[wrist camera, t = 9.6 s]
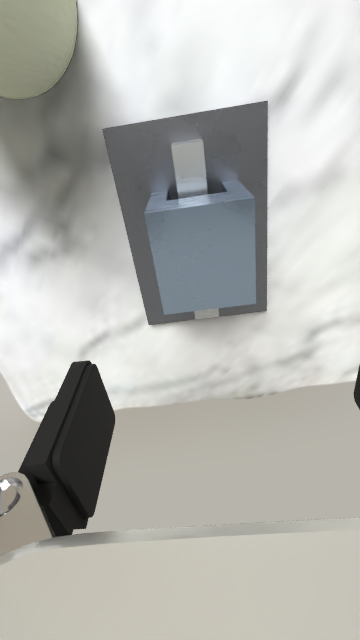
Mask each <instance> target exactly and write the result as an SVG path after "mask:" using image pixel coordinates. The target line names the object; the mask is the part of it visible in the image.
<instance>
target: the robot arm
mask: <svg viewBox="0 0 360 640" xmlns="http://www.w3.org/2000/svg"><path fill="white" fill-rule="evenodd" d="M354 399H355V402H356V404H357V406H358V407H359V409H360V366H359V371H358V375H357V380H356V385H355V389H354ZM114 425H115V414H114V411H113V408H112V406H111V403H110V400H109V398H108V395H107V392H106V390H105V387H104V384H103V382H102V379H101V376H100V374H99V371H98V368H97V366H96V365H95V364H92V363H91V362H90V361H79V362H73V363H72V364H71V366H70V368H69V371H68V373H67V375H66V377H65V379H64V382H63V384H62V386H61V388H60V390H59V392H58V395H57V397H56V399H55V401H53V402H52V403H51V404H50V406H49V407H48V409H47V412H46V414H45V416H44V418H43V420H42V422H41V424H40V427H39V429H38V431H37V433H36V435H35V438H34V439H33V442H32V444H31V446H30V448H29V450H28V452H27V454H26V457H25V458H24V461H23V463H22V465H21V467H20V469H19V471H18V473H17V472H13V473H8V474H5V475H3V476H0V640H360V517H358V518H336V519H316V520H296V521H278V522H260V523H241V524H223V525H204V526H187V527H170V528H154V529H137V530H123V531H110V532H97V533H84V534H75V535H72V532H73V529H86V526H87V522H88V518H89V517H92V516H93V515H94V512H95V508H96V504H97V499H98V495H99V491H100V486H101V482H102V477H103V473H104V468H105V464H106V460H107V456H108V451H109V447H110V442H111V438H112V434H113V430H114Z"/></svg>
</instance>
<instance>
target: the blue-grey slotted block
mask: <svg viewBox="0 0 360 640" xmlns="http://www.w3.org/2000/svg"><path fill="white" fill-rule="evenodd" d="M144 215H145V220H146V225H147V231H148V236H149V241H150V246H151V251H152V256H153V261H154V266H155V271H156V276H157V281H158V286H159V291H160V297H161V302H162V307H163V312H164V315H166V314H175V313H183V312H191V311H200V310H208V309H216V308H225V307H233V306H241V305H249V304H256V257H255V197H254V196H253V195H252V194H251V193H250V192H249V191H248V190H247V189H246V188H245V187H244V186H243V184H242V183H241V182H240V181H239V180H234V181H228V182H222V193H215V194H209V195H202V196H195V197H188V198H181V199H175V200H169V196H168V190H167V191H161V192H154V193H152V194H151V196H150V199H149V202H148V205H147V207H146V210H145V213H144Z"/></svg>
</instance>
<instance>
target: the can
mask: <svg viewBox="0 0 360 640" xmlns="http://www.w3.org/2000/svg"><path fill="white" fill-rule="evenodd" d="M76 35H77V7H76V0H0V96H1V97H5V98H10V99H27V98H32V97H35V96H38V95H40V94H42V93H44V92H46V91H48V90H49V89H50V88H52V87H53V86H54V85H55V84H56V83H57V82H58V81H59V79H60V78H61V77H62V75H63V74H64V72H65V71H66V69H67V67H68V65H69V63H70V60H71V58H72V55H73V51H74V47H75V43H76Z"/></svg>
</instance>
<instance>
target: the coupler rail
mask: <svg viewBox="0 0 360 640" xmlns="http://www.w3.org/2000/svg"><path fill="white" fill-rule="evenodd" d="M267 113H268V101H263V102H257V103H251V104H246V105H240V106H234V107H228V108H222V109H216V110H211V111H205V112H199V113H193V114H187V115H181V116H176V117H170V118H164V119H158V120H152V121H146V122H140V123H135V124H129V125H123V126H117V127H111V128H105V129H102V130H103V134H104V138H105V142H106V146H107V151H108V155H109V159H110V163H111V168H112V172H113V176H114V180H115V184H116V189H117V193H118V197H119V201H120V206H121V210H122V214H123V218H124V222H125V227H126V231H127V235H128V239H129V244H130V248H131V252H132V256H133V260H134V265H135V269H136V273H137V277H138V282H139V286H140V290H141V294H142V298H143V303H144V307H145V311H146V315H147V320H148V324H149V325H153V324H161V323H169V322H177V321H185V320H194V319H195V320H197V319H205V318H213V317H219V316H227V315H235V314H243V313H251V312H259V311H267ZM234 180H239V181H240V182H241V183H242V184H243V186H244V187H245V188H246V189H247V190H248V191H249V192H250V193H251V194H252V195H253V196H254V197H255V257H256V304H249V305H241V306H233V307H225V308H216V309H208V310H200V311H191V312H183V313H175V314H166V315H164V312H163V307H162V302H161V297H160V291H159V286H158V281H157V276H156V271H155V266H154V261H153V256H152V251H151V246H150V241H149V236H148V231H147V225H146V220H145V215H144V213H145V210H146V207H147V205H148V202H149V199H150V196H151V194H152V193H154V192H161V191H167V190H168V196H169V200H175V199H181V198H188V197H195V196H202V195H209V194H215V193H222V182H228V181H234Z"/></svg>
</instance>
